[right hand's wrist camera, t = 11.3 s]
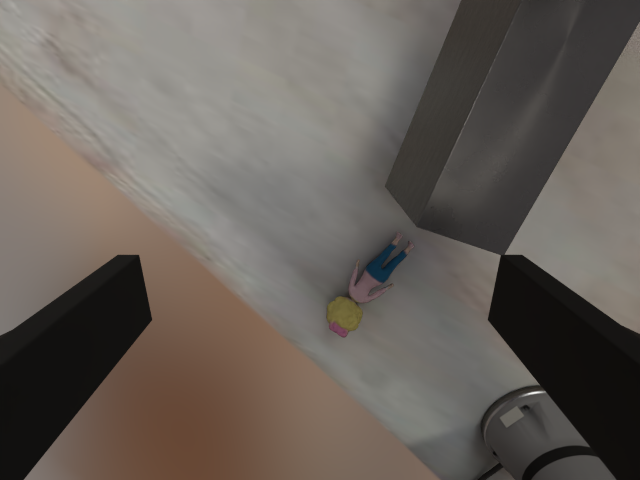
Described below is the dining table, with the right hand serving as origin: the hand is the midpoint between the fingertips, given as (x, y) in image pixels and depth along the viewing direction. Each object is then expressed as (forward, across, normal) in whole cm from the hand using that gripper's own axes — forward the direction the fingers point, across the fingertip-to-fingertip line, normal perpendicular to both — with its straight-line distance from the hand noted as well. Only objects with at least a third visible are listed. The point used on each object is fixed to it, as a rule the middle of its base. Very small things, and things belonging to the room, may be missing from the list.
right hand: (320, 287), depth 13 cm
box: (+20, -13, -10) cm, 26 cm away
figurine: (+30, -6, +15) cm, 34 cm away
